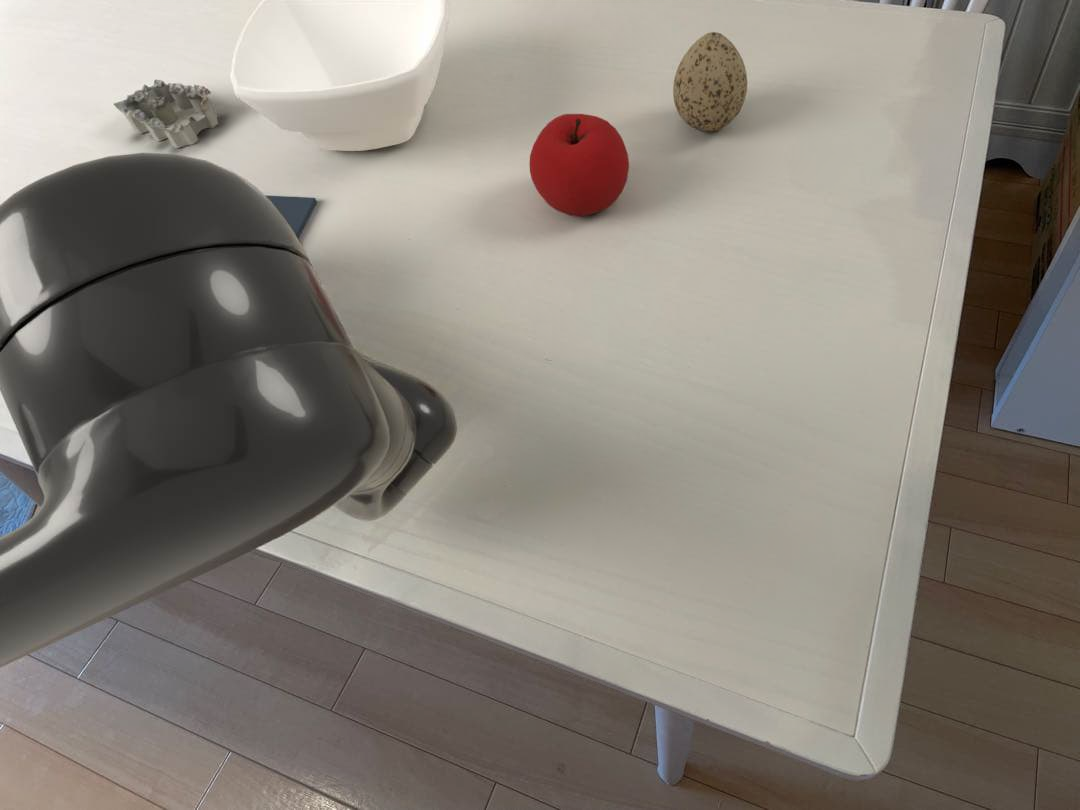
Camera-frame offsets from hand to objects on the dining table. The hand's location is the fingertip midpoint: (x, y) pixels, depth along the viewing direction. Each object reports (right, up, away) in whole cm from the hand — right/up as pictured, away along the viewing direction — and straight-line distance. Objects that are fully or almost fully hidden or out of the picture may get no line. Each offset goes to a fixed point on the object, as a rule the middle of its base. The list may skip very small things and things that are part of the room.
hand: (169, 233), depth 70 cm
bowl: (+14, +16, +19) cm, 29 cm away
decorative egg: (+50, +14, +11) cm, 53 cm away
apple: (+37, +5, +7) cm, 38 cm away
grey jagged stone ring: (-10, +18, +24) cm, 32 cm away
